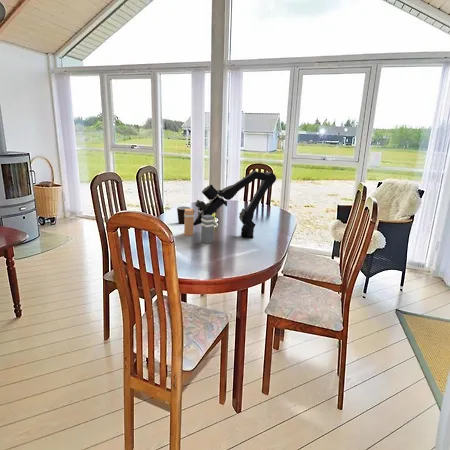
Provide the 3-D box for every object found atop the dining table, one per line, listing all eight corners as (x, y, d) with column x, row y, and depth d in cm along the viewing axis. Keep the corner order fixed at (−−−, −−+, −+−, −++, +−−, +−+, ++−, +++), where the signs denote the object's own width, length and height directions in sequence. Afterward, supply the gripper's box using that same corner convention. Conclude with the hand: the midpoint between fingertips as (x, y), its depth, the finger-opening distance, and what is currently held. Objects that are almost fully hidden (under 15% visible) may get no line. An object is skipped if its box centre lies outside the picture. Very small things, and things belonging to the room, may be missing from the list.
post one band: (192, 232, 191) (193, 208, 187) (193, 235, 186) (194, 210, 182) (183, 233, 190) (184, 208, 186) (184, 235, 185) (185, 210, 182)
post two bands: (207, 240, 180) (208, 214, 176) (213, 242, 177) (214, 216, 173) (200, 241, 177) (201, 215, 173) (205, 244, 174) (206, 217, 170)
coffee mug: (177, 225, 209) (177, 209, 206) (175, 221, 217) (176, 206, 214) (196, 225, 212) (196, 209, 209) (193, 221, 220) (194, 206, 217)
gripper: (202, 192, 192) (182, 210, 193) (206, 198, 175) (184, 219, 176) (215, 205, 196) (195, 224, 197) (220, 213, 179) (199, 233, 179)
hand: (193, 224), depth 187 cm, fingers closed, pressing on post one band
